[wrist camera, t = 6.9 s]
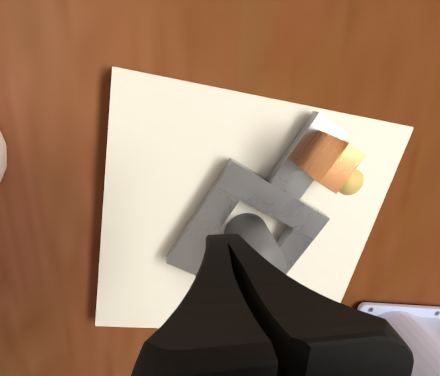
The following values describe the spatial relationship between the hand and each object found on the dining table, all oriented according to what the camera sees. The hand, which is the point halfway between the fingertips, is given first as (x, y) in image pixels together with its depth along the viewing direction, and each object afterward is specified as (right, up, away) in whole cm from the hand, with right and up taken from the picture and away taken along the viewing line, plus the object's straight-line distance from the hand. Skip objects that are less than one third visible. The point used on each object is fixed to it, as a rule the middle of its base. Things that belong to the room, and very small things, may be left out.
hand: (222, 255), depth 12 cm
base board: (+2, 0, +9) cm, 10 cm away
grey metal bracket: (+3, +2, +8) cm, 8 cm away
